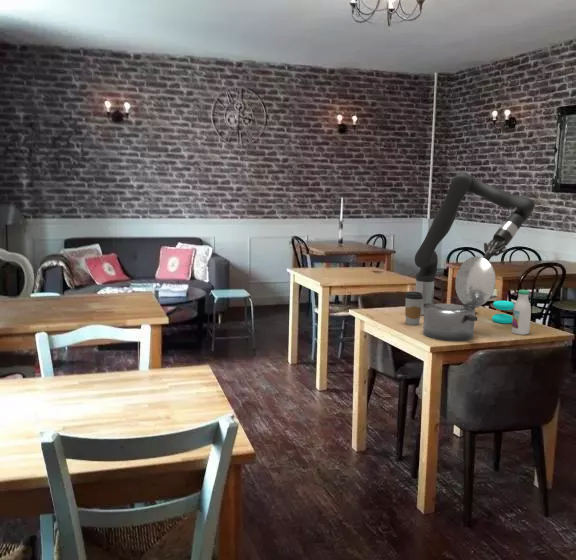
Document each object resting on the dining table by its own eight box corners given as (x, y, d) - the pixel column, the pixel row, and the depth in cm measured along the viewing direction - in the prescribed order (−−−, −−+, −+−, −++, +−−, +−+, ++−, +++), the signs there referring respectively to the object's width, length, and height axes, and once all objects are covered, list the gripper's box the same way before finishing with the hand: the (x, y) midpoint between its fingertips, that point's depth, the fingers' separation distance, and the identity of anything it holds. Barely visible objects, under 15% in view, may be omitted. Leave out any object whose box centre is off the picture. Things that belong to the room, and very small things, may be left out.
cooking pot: (491, 340, 284) (493, 313, 282) (454, 345, 273) (455, 318, 271) (442, 324, 311) (444, 300, 309) (406, 329, 300) (408, 304, 298)
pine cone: (445, 309, 347) (446, 290, 345) (457, 307, 352) (459, 289, 350) (471, 315, 332) (472, 296, 330) (484, 313, 338) (485, 294, 336)
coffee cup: (420, 322, 315) (422, 291, 313) (422, 326, 307) (423, 295, 305) (402, 321, 316) (404, 291, 314) (404, 325, 308) (406, 294, 305)
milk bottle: (528, 332, 301) (532, 289, 297) (529, 335, 293) (533, 292, 290) (511, 330, 303) (514, 288, 300) (511, 334, 296) (514, 291, 293)
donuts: (504, 299, 325) (519, 303, 316) (503, 318, 327) (517, 323, 318) (489, 300, 321) (503, 304, 312) (487, 320, 323) (501, 324, 314)
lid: (487, 312, 286) (492, 313, 288) (498, 260, 284) (503, 261, 286) (450, 303, 306) (455, 303, 307) (460, 253, 304) (465, 254, 305)
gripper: (491, 226, 304) (470, 253, 300) (513, 229, 293) (492, 257, 289) (498, 237, 307) (477, 264, 303) (520, 240, 296) (499, 268, 292)
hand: (484, 260), depth 296 cm, fingers closed
